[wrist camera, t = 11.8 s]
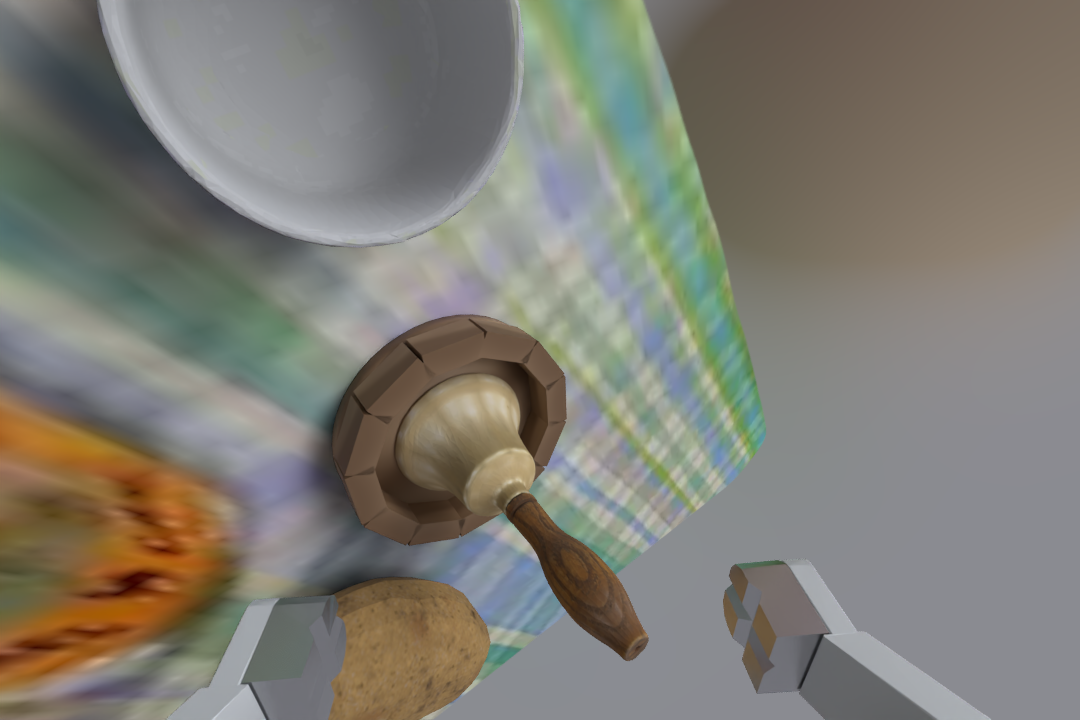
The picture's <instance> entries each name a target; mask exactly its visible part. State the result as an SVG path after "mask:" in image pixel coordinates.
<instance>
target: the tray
mask: <svg viewBox="0 0 1080 720" xmlns="http://www.w3.org/2000/svg"><path fill="white" fill-rule="evenodd" d="M470 373H485V374H490V375H493V376H496V377H498V378H500V379H502V380H504V381H505V382H506V383H507V384H509V386H510V387H511V388H512V389H513V391H514V392H515V394H516V396H517V399H518V403H519V408H520V425H519V430H518V434H519V437H520V439H521V440H522V442H523V444H524V446H525V447H526V449H527V450H528V451H529V453H530V454H531V456H532V457H533V460H534V463H535V477H534V481H535V479H536V478H537V477H538V476H539V475H540V474H541V473H542V472H543V471H544V468H543V467H542V466H547V465H548V462H549V460H550V458H551V455H552V453H553V451H554V448H555V446H556V444H557V441H558V439H559V437H560V434H561V432H562V430H563V427H564V425H565V423H566V422H565V421H564V420H565V419H567V418H566V386H565V376H564V375H563V374H564V373H563V371H562V370H561V369H560V368H559V366H558V365H557V364H556V363H555V361H554V360H553V359H552V358H551V356H550V355H549V354H548V353H547V351H546V350H545V349H544V348H543V346H542V345H541V344H540V343H539V342H538V341H537V340H535V339H534V338H533V337H531V336H530V335H528V334H527V333H525V332H524V331H523V330H521V329H519V328H518V327H514V326H509V325H507V324H505V323H503V322H501V321H499V320H497V319H493V318H490V317H486V316H479V315H454V316H448V317H442V318H439V319H435V320H432V321H429V322H426V323H424V324H421V325H419V326H417V327H414V328H412V329H410V330H409V331H407V332H405V333H403V334H402V335H400V336H398V337H397V338H395V339H394V340H392V341H391V342H390V343H388V344H387V345H386V346H384V347H383V348H382V349H381V350H380V351H379V352H378V353H376V354H375V355H374V356H373V357H372V358H371V359H370V360H369V361H368V362H367V363H366V365H365V366H364V367H363V368H362V369H361V370H360V371H359V373H358V374H357V376H356V377H355V379H354V380H353V381H352V383H351V384H350V386H349V388H348V389H347V391H346V393H345V395H344V397H343V399H342V401H341V404H340V406H339V409H338V412H337V414H336V418H335V423H334V427H333V435H332V451H333V459H334V462H335V466H336V469H337V472H338V474H339V476H340V478H341V480H342V482H343V484H344V487H345V489H346V492H347V495H348V497H349V500H350V502H351V504H352V506H353V508H354V510H355V512H356V514H357V516H358V518H359V520H360V522H361V524H362V525H363V526H364V527H365V528H367V529H369V530H372V531H374V532H376V533H378V534H381V535H383V536H385V537H388V538H390V539H392V540H394V541H397V542H399V543H401V544H404V545H406V544H407V543H408V545H409V546H410V545H416V544H423V543H429V542H436V541H442V540H448V539H455V538H459V535H461V537H462V536H464V535H465V534H467V533H469V532H470V531H472V530H474V529H476V528H477V527H479V526H481V525H482V524H484V523H486V522H488V521H489V520H491V519H493V518H494V517H496V516H498V515H499V514H498V515H494V516H479V515H476V514H474V513H472V512H471V511H470V510H468V509H467V508H466V506H465V505H464V504H463V503H462V502H461V501H460V500H459V499H458V498H457V497H456V496H455V495H454V494H452V493H451V492H450V491H448V490H445V491H437V490H430V489H426V488H423V487H420V486H418V485H416V484H414V483H412V482H411V481H410V480H408V479H407V478H406V477H405V476H404V475H403V473H402V472H401V470H400V468H399V466H398V464H397V460H396V455H395V444H396V437H397V433H398V430H399V428H400V426H401V423H402V421H403V419H404V417H405V415H406V414H407V413H408V411H409V410H410V409H411V407H412V406H413V405H414V404H415V403H416V402H417V400H419V399H420V398H421V397H422V396H423V395H424V394H425V393H426V392H427V391H429V390H430V389H432V388H433V387H435V386H436V385H438V384H439V383H441V382H443V381H446V380H447V379H450V378H453V377H456V376H459V375H463V374H470ZM534 481H533V482H534Z"/></svg>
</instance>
